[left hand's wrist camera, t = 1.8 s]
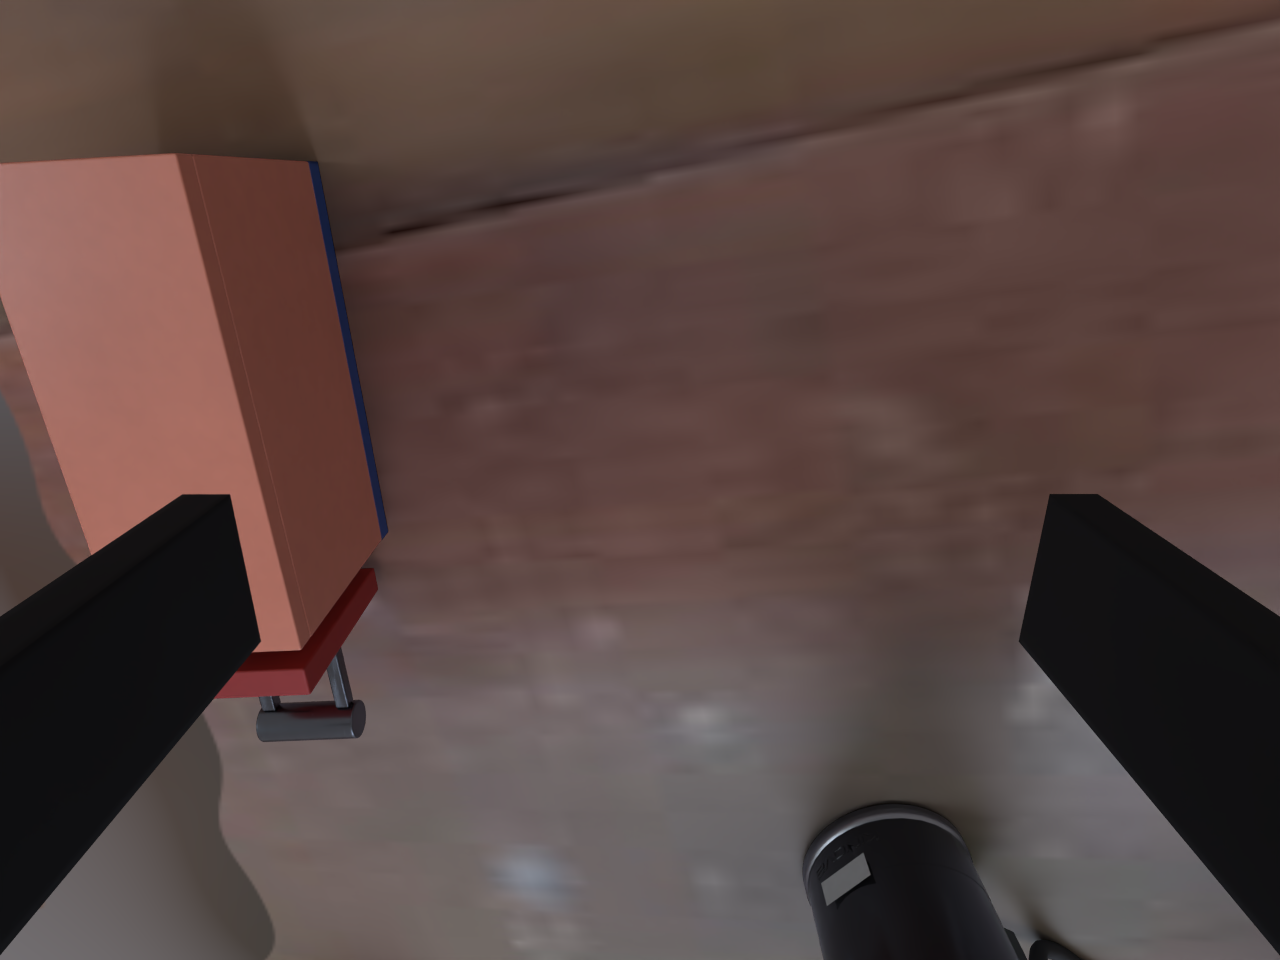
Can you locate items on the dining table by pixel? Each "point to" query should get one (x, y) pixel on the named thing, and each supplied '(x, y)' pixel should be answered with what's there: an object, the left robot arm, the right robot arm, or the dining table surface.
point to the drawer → (308, 677)
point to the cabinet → (198, 359)
